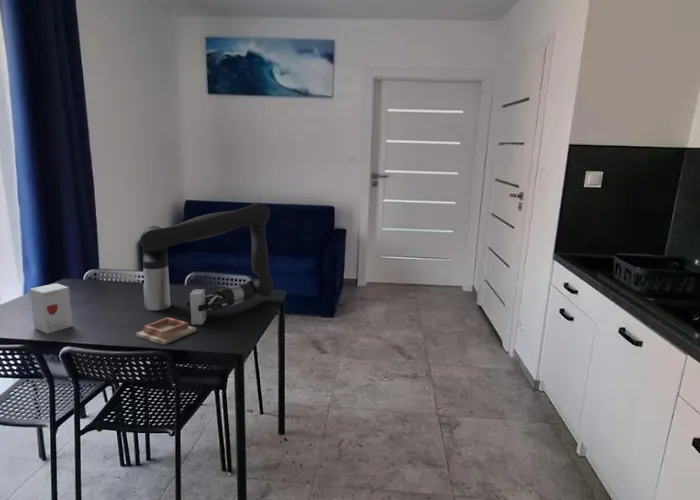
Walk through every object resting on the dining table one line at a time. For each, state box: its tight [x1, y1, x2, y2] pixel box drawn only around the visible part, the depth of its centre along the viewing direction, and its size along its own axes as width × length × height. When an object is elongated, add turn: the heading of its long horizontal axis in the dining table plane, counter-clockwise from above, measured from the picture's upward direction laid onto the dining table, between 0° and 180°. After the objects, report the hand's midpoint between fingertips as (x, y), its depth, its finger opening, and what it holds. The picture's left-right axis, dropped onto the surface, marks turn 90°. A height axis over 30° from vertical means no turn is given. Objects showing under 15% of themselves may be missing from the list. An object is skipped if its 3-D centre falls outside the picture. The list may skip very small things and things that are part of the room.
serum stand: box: [135, 316, 197, 345], centre depth 159 cm, size 14×14×3 cm
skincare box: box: [189, 288, 207, 325], centre depth 170 cm, size 6×4×12 cm
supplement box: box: [29, 282, 73, 334], centre depth 161 cm, size 9×9×15 cm
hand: (192, 306), depth 168 cm, fingers closed on skincare box, 7 cm apart
